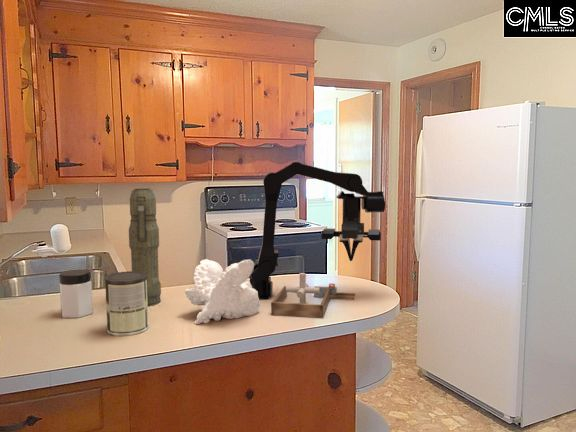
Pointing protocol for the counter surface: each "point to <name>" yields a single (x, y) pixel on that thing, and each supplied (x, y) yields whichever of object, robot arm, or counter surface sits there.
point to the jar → (76, 293)
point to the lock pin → (323, 289)
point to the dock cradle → (305, 305)
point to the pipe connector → (302, 289)
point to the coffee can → (126, 303)
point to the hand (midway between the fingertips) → (351, 260)
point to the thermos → (145, 240)
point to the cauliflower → (223, 291)
